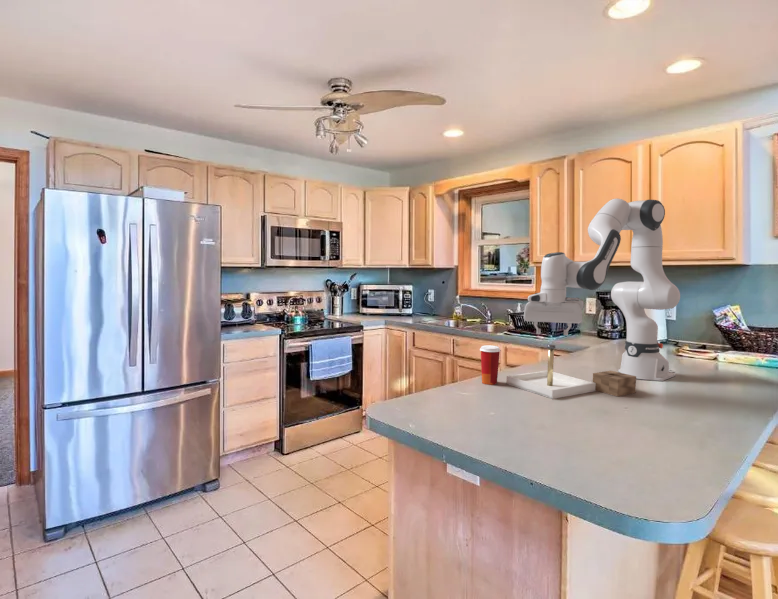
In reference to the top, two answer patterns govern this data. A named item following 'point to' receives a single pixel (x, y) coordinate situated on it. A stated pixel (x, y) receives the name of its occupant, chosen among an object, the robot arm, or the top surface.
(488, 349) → the paper cup
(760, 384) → the top surface
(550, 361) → the brass pin
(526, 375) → the off-white tray
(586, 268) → the robot arm
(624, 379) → the walnut block
